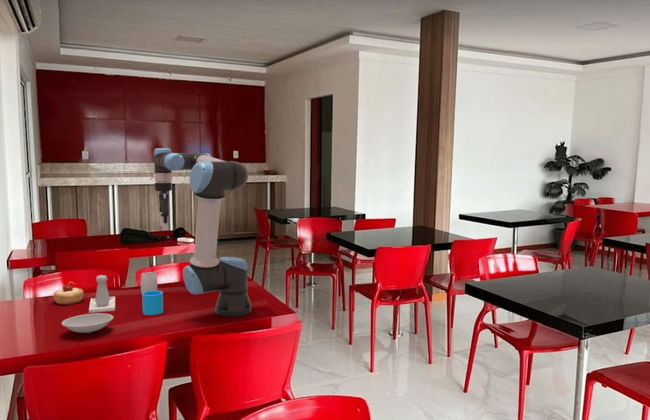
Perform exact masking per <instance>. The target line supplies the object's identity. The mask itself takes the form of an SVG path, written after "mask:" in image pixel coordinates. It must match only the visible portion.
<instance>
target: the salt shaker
mask: <svg viewBox="0 0 650 420" xmlns="http://www.w3.org/2000/svg"><path fill="white" fill-rule="evenodd" d="M95 281H96V282H97V287H96V293H95V297H94V298H95V302H96V303H97V305H98V306H101V307H102V306H107V305H108V303H109V301H110V297H111V296H110V294H109V290H108V286H107V285H108V284H107V281H108V277H107V275H103V274H100V275H97V276H96V278H95Z"/></svg>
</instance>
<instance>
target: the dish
mask: <svg viewBox="0 0 650 420" xmlns="http://www.w3.org/2000/svg"><path fill="white" fill-rule="evenodd" d="M113 319H114V315H112V314H110V313H103V312H97V313H86V314H81V315H75V316H72V317H69V318H66V319H64V320H62V322H61V325H62V326H63V327H65V328H67V329H68V330H69V331H72V332H75V333H81V334H83V333H84V334H85V333H86V334H91V333H92V332H93V333H94V332H96V331H99V330H101V329H103V328H105V327H106V326H107V325H108V324H109V323H110V322H111V321H112V320H113Z"/></svg>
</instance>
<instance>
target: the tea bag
mask: <svg viewBox="0 0 650 420" xmlns="http://www.w3.org/2000/svg"><path fill="white" fill-rule="evenodd" d="M157 278H158V277H157V271H149V272H142V273H141V274H140V293H141V295H142V294H143V293H144V292H147V291H158V279H157Z"/></svg>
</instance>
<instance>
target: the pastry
mask: <svg viewBox="0 0 650 420" xmlns="http://www.w3.org/2000/svg"><path fill="white" fill-rule="evenodd" d="M70 283H72V284H74V285H76V283H74V282H73V281H69V282H68V285H67V284H65V285H64V286H62V288H61V289H58V290H56V291H54V293H53V299H54V302H55V303H56V304H57V305H61V306H66V305H69V306H70V305H75V304H78V303H80V302H82V300H83V298H84V290H83V289H82V288H79V287H73V286H72V285H70Z"/></svg>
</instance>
